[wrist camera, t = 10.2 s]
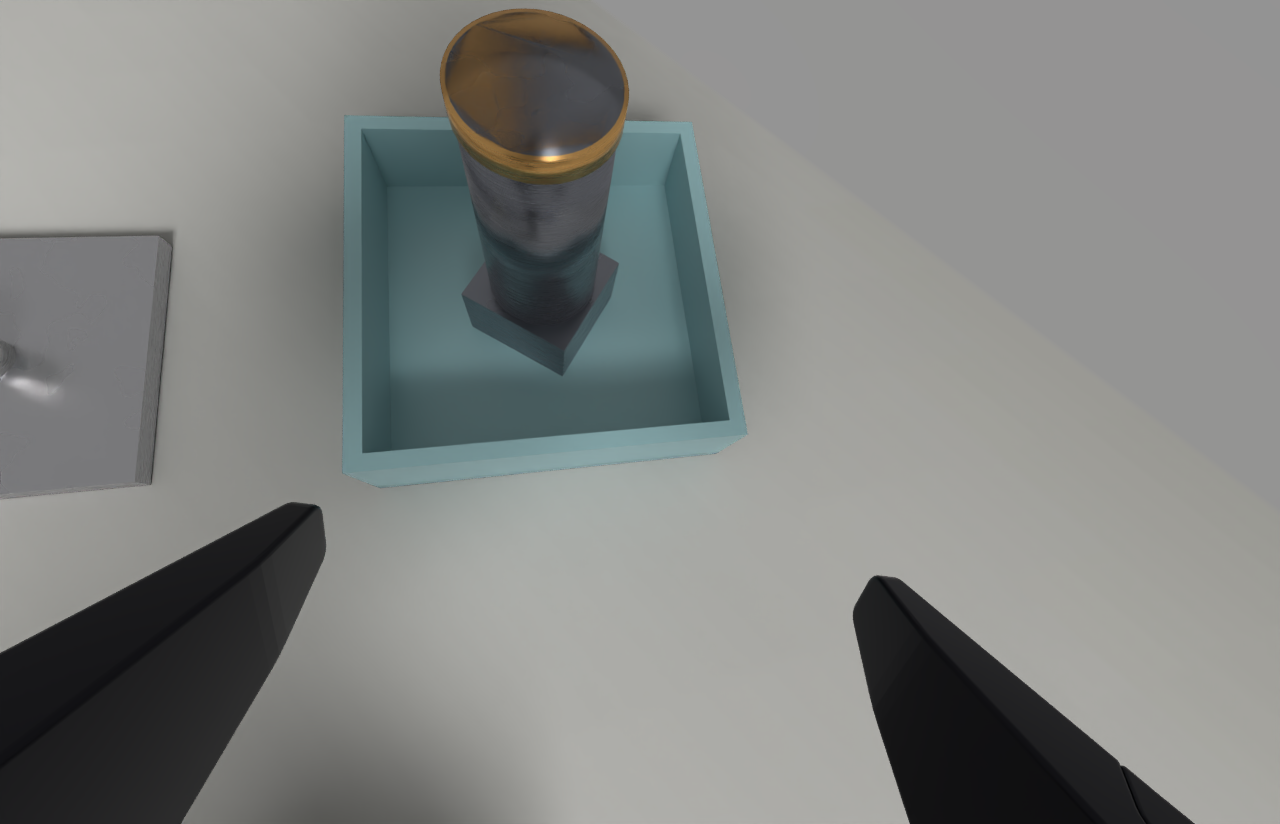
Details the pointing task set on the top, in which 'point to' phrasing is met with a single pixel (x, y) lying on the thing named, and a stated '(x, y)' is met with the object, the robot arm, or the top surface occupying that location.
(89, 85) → the top surface
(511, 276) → the grey gold-rimmed cylinder
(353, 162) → the tray
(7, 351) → the stud plate
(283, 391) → the top surface
